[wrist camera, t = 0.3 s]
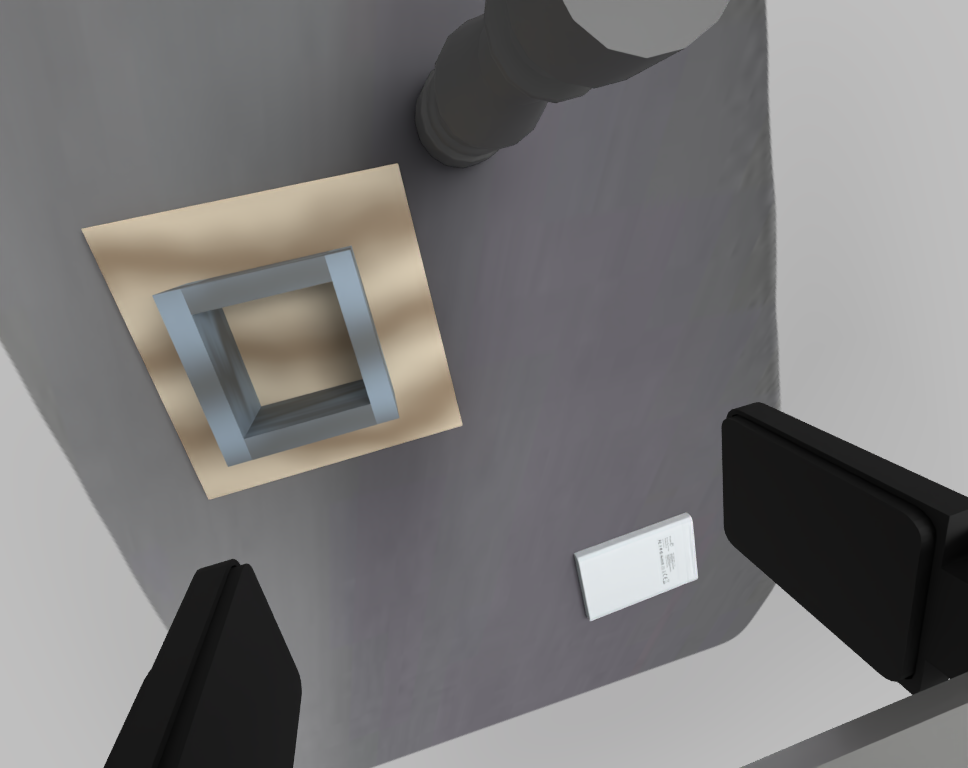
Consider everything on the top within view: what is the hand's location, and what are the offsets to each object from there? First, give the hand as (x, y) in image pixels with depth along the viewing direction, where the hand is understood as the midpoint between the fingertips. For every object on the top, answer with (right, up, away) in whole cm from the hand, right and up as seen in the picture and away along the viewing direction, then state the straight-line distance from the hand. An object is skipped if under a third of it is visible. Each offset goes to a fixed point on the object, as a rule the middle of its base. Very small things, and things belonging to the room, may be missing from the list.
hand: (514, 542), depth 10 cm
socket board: (-14, +6, +27) cm, 32 cm away
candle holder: (-2, +22, +26) cm, 34 cm away
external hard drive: (+15, -15, +42) cm, 47 cm away
